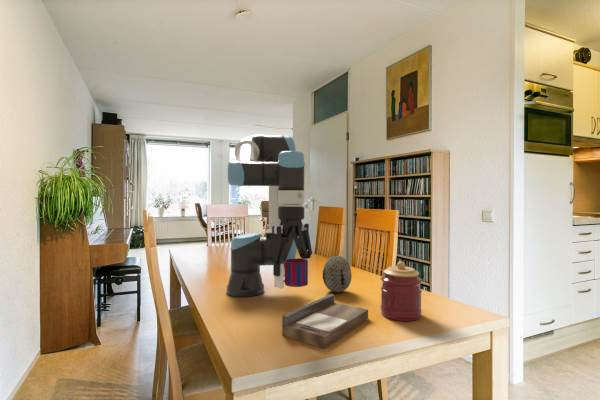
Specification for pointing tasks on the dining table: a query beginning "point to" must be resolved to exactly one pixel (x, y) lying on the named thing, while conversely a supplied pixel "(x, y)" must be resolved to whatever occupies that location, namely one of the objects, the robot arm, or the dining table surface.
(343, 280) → the decorative egg
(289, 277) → the mug
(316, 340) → the memo pad holder
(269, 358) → the dining table surface
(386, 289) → the canister
